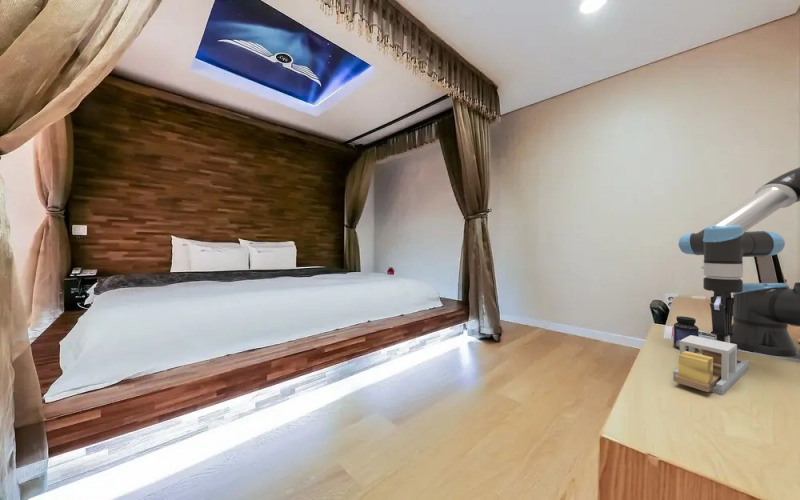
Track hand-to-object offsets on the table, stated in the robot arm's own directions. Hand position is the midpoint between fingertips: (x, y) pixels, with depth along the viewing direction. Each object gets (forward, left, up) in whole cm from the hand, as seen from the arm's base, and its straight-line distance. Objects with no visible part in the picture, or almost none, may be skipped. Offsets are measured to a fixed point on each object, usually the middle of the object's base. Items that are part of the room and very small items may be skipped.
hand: (722, 356), depth 82 cm
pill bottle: (-7, -14, -4) cm, 16 cm away
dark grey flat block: (-8, -3, -4) cm, 9 cm away
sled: (+14, +5, -2) cm, 15 cm away
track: (+8, +3, -4) cm, 9 cm away
